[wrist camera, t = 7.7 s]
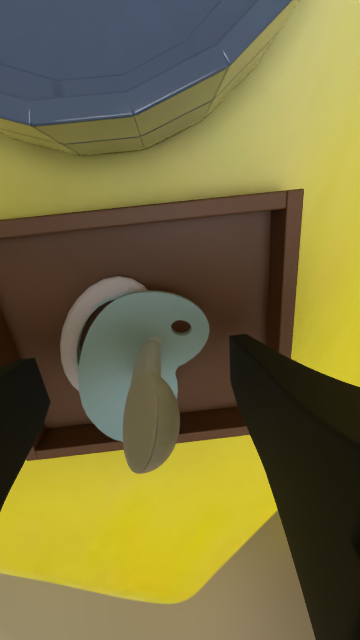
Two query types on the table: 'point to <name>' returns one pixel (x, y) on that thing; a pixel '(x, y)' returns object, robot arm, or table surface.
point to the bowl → (124, 67)
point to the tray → (156, 275)
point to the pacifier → (132, 364)
